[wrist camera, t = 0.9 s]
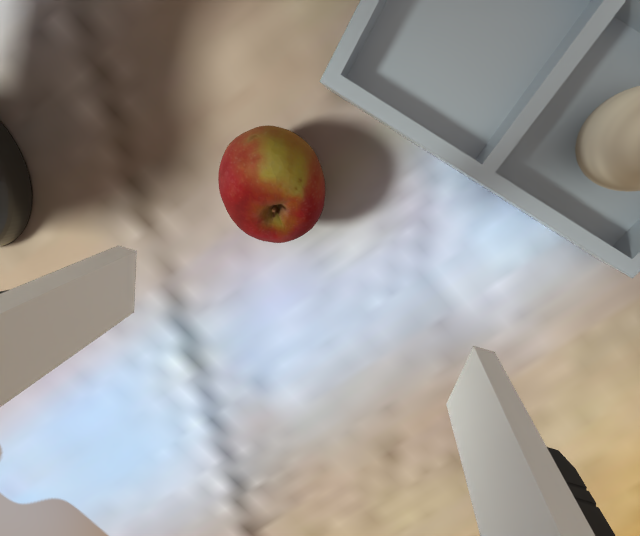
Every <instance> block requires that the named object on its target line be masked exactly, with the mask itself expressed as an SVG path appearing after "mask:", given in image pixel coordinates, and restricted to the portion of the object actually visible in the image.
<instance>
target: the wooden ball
mask: <svg viewBox="0 0 640 536" xmlns="http://www.w3.org/2000/svg"><path fill="white" fill-rule="evenodd" d="M575 154H576V160H577V163H578V165H579V167H580V169H581V171H582V172H583V173H584V175H585V176H586V177H587V178H588V179H590V180H591V181H592V182H594V183H595V184H597V185H599V186H601V187H604V188H607V189H611V190H615V191H626V192H629V191H640V86H636V87H633V88H630V89H627V90H624V91H622V92H620V93H618V94H616V95H614V96H612V97H611V98H609V99H607V100H606V101H604V102H603V103H602V104H600V105H599V106H598V107H597V108H596V109H595V110H594V111H593V112H592V113H591V114H590V115H589V116H588V118H587V119H586V120H585V122H584V123H583V125H582V127H581V129H580V131H579V133H578V136H577V140H576V145H575Z"/></svg>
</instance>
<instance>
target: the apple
mask: <svg viewBox="0 0 640 536" xmlns="http://www.w3.org/2000/svg"><path fill="white" fill-rule="evenodd" d="M219 190H220V194H221V198H222V200H223V203H224V205H225V207H226V210H227V212H228V214H229V215H230V217H231V218H232V220H233V221H234V222H235V223H236V225H237V226H238V227H239V228H240V229H241V230H243V231H244V232H245V233H246V234H248V235H250V236H252V237H254V238H257V239H259V240H262V241H268V242H274V243H282V242H287V241H291V240H294V239H296V238H298V237H300V236H302V235H304V234H305V233H307V232H308V231H309V230H310V229H312V228H313V226H314V225H315V224H316V222H317V221H318V219H319V217H320V215H321V213H322V210H323V206H324V200H325V179H324V175H323V171H322V168H321V165H320V163H319V160H318V158H317V156H316V154H315V152H314V151H313V149H312V148H311V147H310V146H309V144H308V143H307V142H306V141H304V140H303V139H302V138H300V137H299V136H298V135H296V134H295V133H293V132H291V131H289V130H286V129H283V128H279V127H275V126H260V127H256V128H254V129H251V130H249V131H247V132H245V133H243V134H241V135H240V136H238V137H237V138H235V139H234V140H233V141H232V142H231V143H230V144H229V146H228V147H227V149H226V150H225V153H224V155H223V157H222V160H221V164H220V168H219Z"/></svg>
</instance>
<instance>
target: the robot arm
mask: <svg viewBox="0 0 640 536" xmlns="http://www.w3.org/2000/svg"><path fill="white" fill-rule="evenodd" d="M31 204H32V192H31V184H30V179H29V174H28V171H27V167H26V165H25V162H24V159H23V157H22V155H21V153H20V151H19V149H18V147H17V145H16V143H15V141H14V140H13V138H12V137H11V135H10V134H9V132H8V131H7V129H6V128H5V127H4V126H3V124H2V123H1V122H0V247H1V246H4V245H6V244H8V243H10V242H12V241H13V240H15V239H16V238H17V237H18V236H19V235H20V234H21V233H22V231H23V230H24V228H25V226H26V224H27V222H28V219H29V216H30V212H31ZM136 254H137V251H136V250H132V249H129V248H125V247H122V246H116V247H113V248H111V249H108V250H106V251H104V252H101V253H99V254H96V255H94V256H91V257H89V258H86V259H84V260H82V261H79V262H77V263H74V264H72V265H69V266H67V267H64V268H62V269H60V270H57V271H55V272H52V273H50V274H47V275H45V276H42V277H40V278H38V279H35V280H33V281H30V282H28V283H25V284H23V285H20V286H18V287H16V288H13V289H11V290H6V291H1V292H0V407H1V406H2V405H4V404H5V403H7V402H8V401H10V400H11V399H12V398H14V397H15V396H17V395H18V394H19V393H21V392H22V391H24V390H25V389H26V388H28V387H29V386H31V385H32V384H33V383H35V382H36V381H38V380H39V379H41V378H42V377H43V376H45V375H46V374H48V373H49V372H50V371H52V370H53V369H55V368H56V367H57V366H59V365H60V364H62V363H63V362H65V361H66V360H67V359H69V358H70V357H72V356H73V355H74V354H76V353H77V352H79V351H80V350H81V349H83V348H84V347H86V346H87V345H88V344H90V343H91V342H93V341H94V340H96V339H97V338H98V337H100V336H101V335H103V334H104V333H105V332H107V331H108V330H110V329H111V328H112V327H114V326H115V325H117V324H118V323H120V322H121V321H122V320H124V319H125V318H127V317H128V316H129V315H131V314H132V313H134V302H135V278H136ZM447 408H448V412H449V416H450V420H451V424H452V427H453V431H454V435H455V439H456V443H457V447H458V451H459V455H460V458H461V462H462V466H463V470H464V474H465V478H466V482H467V486H468V489H469V493H470V497H471V501H472V505H473V509H474V513H475V516H476V520H477V524H478V528H479V532H480V536H615V534H614V532H613V531H612V529H611V527H610V526H609V524H608V522H607V521H606V519H605V517H604V516H603V514H602V512H601V511H600V509H599V508H598V507H596V502H595V501H594V499H593V497H592V496H591V494H590V492H589V491H587V490H586V488H587V487H586V486H585V484H584V482H583V481H582V479H581V477H580V476H579V474H578V472H577V471H576V469H575V468H574V467H573V466H572V465H571V464H570V462H569V461H568V460H567V459H566V458H565V457H564V456H563V455H562V454H561V453H560V452H559V451H558V450H555V449H552V448H548V447H546V445H545V443H544V441H543V439H542V438H541V436H540V434H539V432H538V430H537V429H536V427H535V425H534V423H533V421H532V419H531V418H530V416H529V414H528V412H527V410H526V408H525V407H524V405H523V403H522V401H521V399H520V398H519V396H518V394H517V392H516V390H515V388H514V387H513V385H512V383H511V381H510V379H509V377H508V376H507V374H506V372H505V370H504V368H503V366H502V365H501V363H500V361H499V359H498V357H497V356H496V354H495V352H493V351H490V350H486V349H482V348H479V347H475V346H473V348H472V350H471V353H470V355H469V357H468V359H467V361H466V363H465V365H464V368H463V370H462V372H461V374H460V376H459V378H458V380H457V382H456V385H455V387H454V389H453V391H452V393H451V395H450V397H449V400H448V402H447Z"/></svg>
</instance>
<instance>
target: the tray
mask: <svg viewBox="0 0 640 536" xmlns="http://www.w3.org/2000/svg"><path fill="white" fill-rule="evenodd" d="M320 82H321V83H322V84H323V85H324V86H325V87H326V88H327V89H329V90H330V91H332V92H333V93H335V94H336V95H338V96H340V97H341V98H343V99H344V100H346V101H348V102H349V103H351V104H352V105H354V106H355V107H357V108H359V109H360V110H362V111H363V112H365V113H367V114H368V115H370V116H371V117H373V118H375V119H376V120H378V121H379V122H381V123H382V124H384V125H386V126H387V127H389V128H390V129H392V130H394V131H395V132H397V133H398V134H400V135H402V136H403V137H405V138H406V139H408V140H409V141H411V142H413V143H414V144H416V145H417V146H419V147H421V148H422V149H424V150H425V151H427V152H428V153H430V154H432V155H433V156H435V157H436V158H438V159H440V160H441V161H443V162H444V163H446V164H448V165H449V166H451V167H452V168H454V169H455V170H457V171H459V172H460V173H462V174H463V175H465V176H467V177H468V178H470V179H471V180H473V181H475V182H476V183H478V184H479V185H481V186H482V187H484V188H486V189H487V190H489V191H490V192H492V193H494V194H495V195H497V196H498V197H500V198H502V199H503V200H505V201H506V202H508V203H509V204H511V205H513V206H514V207H516V208H517V209H519V210H521V211H522V212H524V213H525V214H527V215H528V216H530V217H532V218H533V219H535V220H536V221H538V222H540V223H541V224H543V225H544V226H546V227H548V228H549V229H551V230H552V231H554V232H555V233H557V234H559V235H560V236H562V237H563V238H565V239H567V240H568V241H570V242H571V243H573V244H575V245H576V246H578V247H579V248H581V249H582V250H584V251H586V252H587V253H589V254H590V255H592V256H594V257H595V258H597V259H598V260H600V261H602V262H603V263H605V264H607V265H609V266H610V267H612V268H614V269H616V270H618V271H620V272H621V273H623V274H625V275H627V276H629V277H631V278H633V277H634V276H635V275H637V274H638V273H639V272H640V191H629V192H626V191H615V190H611V189H607V188H604V187H601V186H599V185H597V184H595V183H594V182H592V181H591V180H590V179H588V178H587V177H586V176H585V175H584V173H583V172H582V171H581V169H580V167H579V165H578V163H577V160H576V154H575V145H576V140H577V136H578V133H579V131H580V129H581V127H582V125H583V123H584V122H585V120H586V119H587V118H588V116H589V115H590V114H591V113H592V112H593V111H594V110H595V109H596V108H597V107H598V106H599V105H600V104H602V103H603V102H604V101H606V100H607V99H609V98H611V97H612V96H614V95H616V94H618V93H620V92H622V91H624V90H627V89H630V88H633V87H636V86H640V0H360V2H359V4H358V6H357V8H356V10H355V12H354V14H353V16H352V18H351V20H350V22H349V24H348V26H347V28H346V30H345V32H344V34H343V36H342V38H341V40H340V42H339V44H338V46H337V48H336V50H335V52H334V54H333V56H332V58H331V60H330V62H329V64H328V66H327V68H326V70H325V72H324V74H323V76H322V78H321V80H320Z"/></svg>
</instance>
